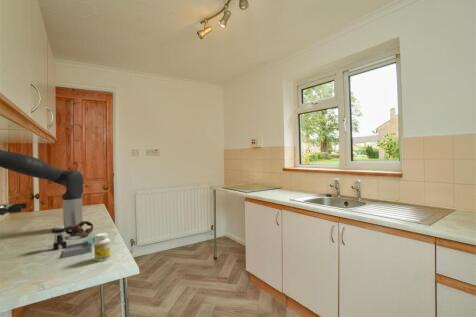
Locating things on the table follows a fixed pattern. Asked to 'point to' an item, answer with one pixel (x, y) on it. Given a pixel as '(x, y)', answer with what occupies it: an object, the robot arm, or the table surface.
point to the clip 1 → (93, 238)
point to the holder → (78, 248)
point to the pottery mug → (79, 229)
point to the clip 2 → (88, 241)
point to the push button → (59, 237)
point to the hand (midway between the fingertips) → (24, 206)
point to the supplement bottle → (102, 247)
